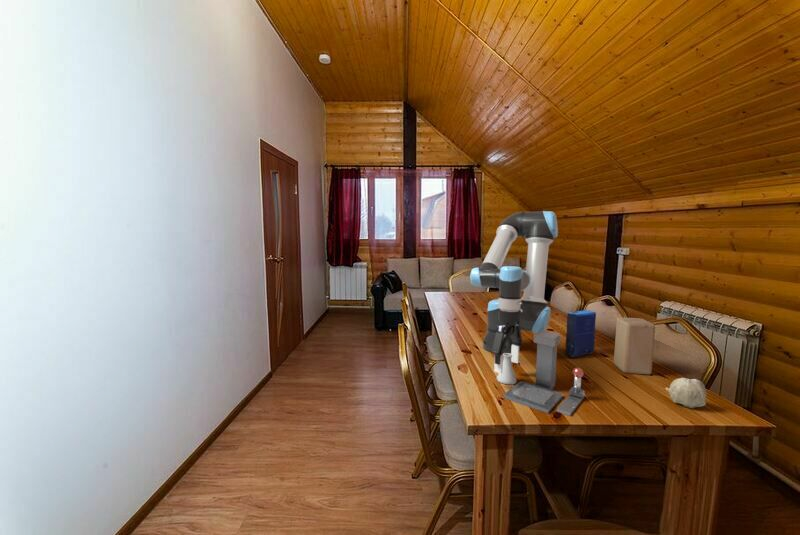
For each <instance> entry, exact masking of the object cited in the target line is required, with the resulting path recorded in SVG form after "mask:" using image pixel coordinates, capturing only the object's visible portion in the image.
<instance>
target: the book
mask: <svg viewBox="0 0 800 535" xmlns="http://www.w3.org/2000/svg"><path fill="white" fill-rule="evenodd" d="M596 317H597V312H596V311H592V310H587V309H585V310H577V311H569V312H567V316H566V333H565V334H566V336H565V338H566V339H565V349H564V350H565V351H564V355H565V356H567V357H568V358H578V357H584V356H587V355H591V354H593V353H594V352H595V338H596V337H595V335H596V334H595V333H596Z"/></svg>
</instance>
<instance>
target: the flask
mask: <svg viewBox="0 0 800 535" xmlns="http://www.w3.org/2000/svg"><path fill="white" fill-rule="evenodd" d="M502 355H503V370H502V374H500V373H497V376H496V380H497V382H498V383H500V384H504V385H516V384H517V382H518V381H517V377H516V375H515V370H514V368H513V362H511V357H512V354H511V353H504V354H502Z"/></svg>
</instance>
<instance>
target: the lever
mask: <svg viewBox="0 0 800 535" xmlns="http://www.w3.org/2000/svg"><path fill="white" fill-rule="evenodd" d="M572 375H573V386H571V388H570V389H569V390H568V395H569V394H571V395H574V396H577V397H582V396H583V395H584V394H585V390H584V389H582V386H581V385H582V377H584V370H583V369H582V368H580V367H575V368H573V369H572Z"/></svg>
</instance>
